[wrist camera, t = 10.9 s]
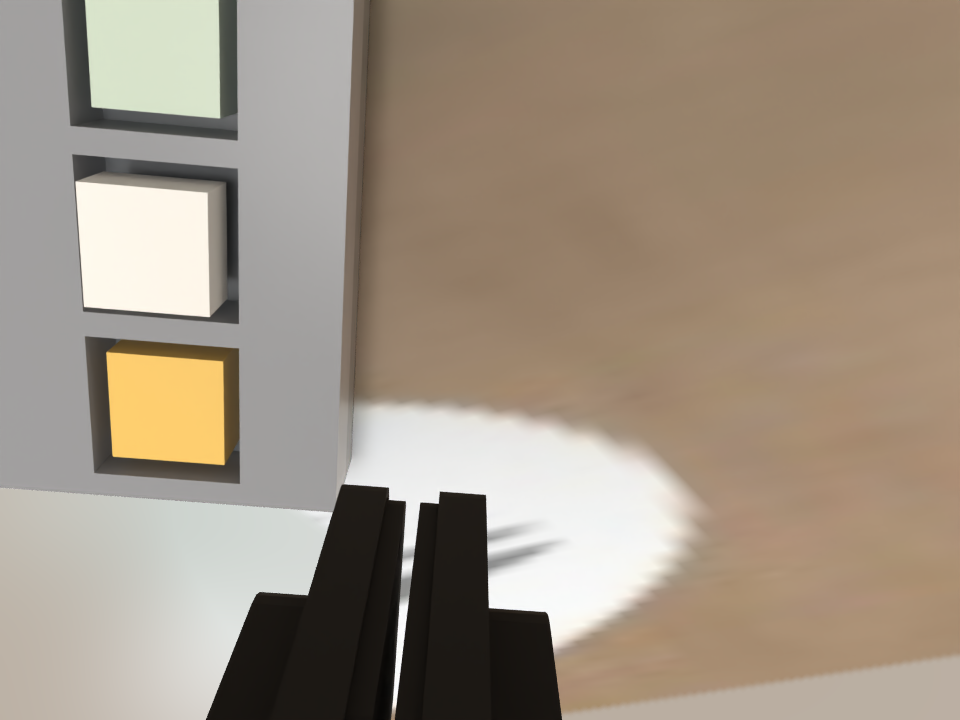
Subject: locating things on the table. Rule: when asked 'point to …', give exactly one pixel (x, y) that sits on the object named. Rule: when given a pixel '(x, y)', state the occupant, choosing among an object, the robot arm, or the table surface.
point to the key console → (250, 254)
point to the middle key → (153, 243)
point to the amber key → (173, 401)
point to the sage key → (163, 56)
